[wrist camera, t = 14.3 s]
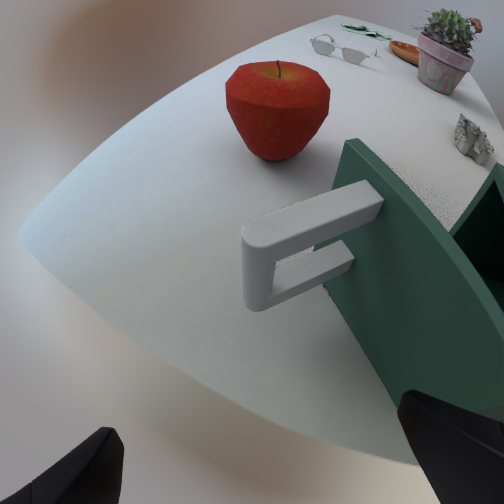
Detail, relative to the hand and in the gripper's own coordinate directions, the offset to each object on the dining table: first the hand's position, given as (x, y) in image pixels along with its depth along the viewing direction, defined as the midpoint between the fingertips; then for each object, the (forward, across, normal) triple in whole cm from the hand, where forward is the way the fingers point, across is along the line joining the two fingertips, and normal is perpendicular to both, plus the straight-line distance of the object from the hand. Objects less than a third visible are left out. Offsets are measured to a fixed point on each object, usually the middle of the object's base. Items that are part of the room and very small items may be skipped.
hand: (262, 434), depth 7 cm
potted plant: (+52, -54, -34) cm, 82 cm away
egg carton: (+32, -43, -14) cm, 56 cm away
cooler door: (+12, -6, +6) cm, 14 cm away
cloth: (+89, -59, -71) cm, 128 cm away
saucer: (+67, -65, -49) cm, 105 cm away
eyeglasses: (+62, -34, -43) cm, 83 cm away
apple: (+29, -6, -11) cm, 31 cm away
